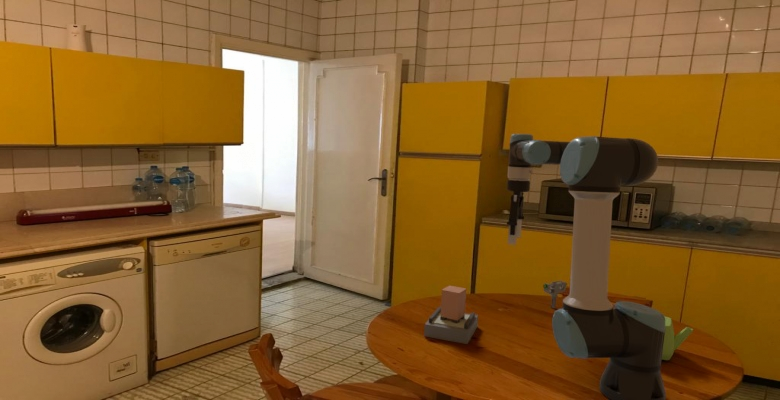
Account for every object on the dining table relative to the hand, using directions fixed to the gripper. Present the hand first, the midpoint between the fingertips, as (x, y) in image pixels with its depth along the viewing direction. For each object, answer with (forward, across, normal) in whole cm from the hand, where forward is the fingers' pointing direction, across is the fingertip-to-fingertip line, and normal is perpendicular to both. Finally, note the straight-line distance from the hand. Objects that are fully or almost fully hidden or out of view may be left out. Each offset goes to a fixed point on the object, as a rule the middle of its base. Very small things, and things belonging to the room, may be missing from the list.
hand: (514, 240), depth 175 cm
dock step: (+29, -19, +16) cm, 38 cm away
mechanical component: (+29, +22, -14) cm, 39 cm away
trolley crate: (+24, -19, +16) cm, 35 cm away
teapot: (+29, -9, -45) cm, 54 cm away
